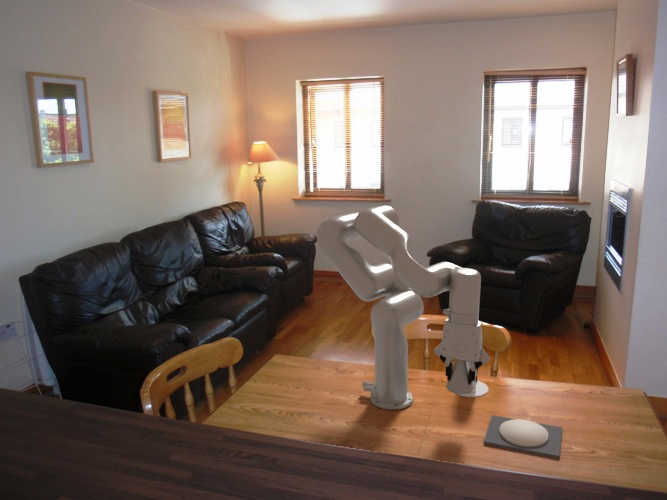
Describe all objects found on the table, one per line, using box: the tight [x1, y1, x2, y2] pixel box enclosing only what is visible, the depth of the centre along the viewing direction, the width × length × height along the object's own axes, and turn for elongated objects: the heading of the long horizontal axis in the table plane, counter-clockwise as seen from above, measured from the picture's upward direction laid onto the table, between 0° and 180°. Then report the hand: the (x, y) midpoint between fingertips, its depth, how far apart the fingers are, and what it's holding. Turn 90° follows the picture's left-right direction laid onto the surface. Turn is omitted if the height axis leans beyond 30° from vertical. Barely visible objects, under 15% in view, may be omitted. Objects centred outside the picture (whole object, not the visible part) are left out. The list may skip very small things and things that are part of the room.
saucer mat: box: [483, 414, 563, 460], centre depth 149 cm, size 18×14×2 cm
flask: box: [445, 359, 473, 395], centre depth 152 cm, size 7×7×10 cm
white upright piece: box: [455, 361, 489, 398], centre depth 174 cm, size 12×11×15 cm
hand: (460, 380), depth 153 cm, fingers closed on flask, 4 cm apart
